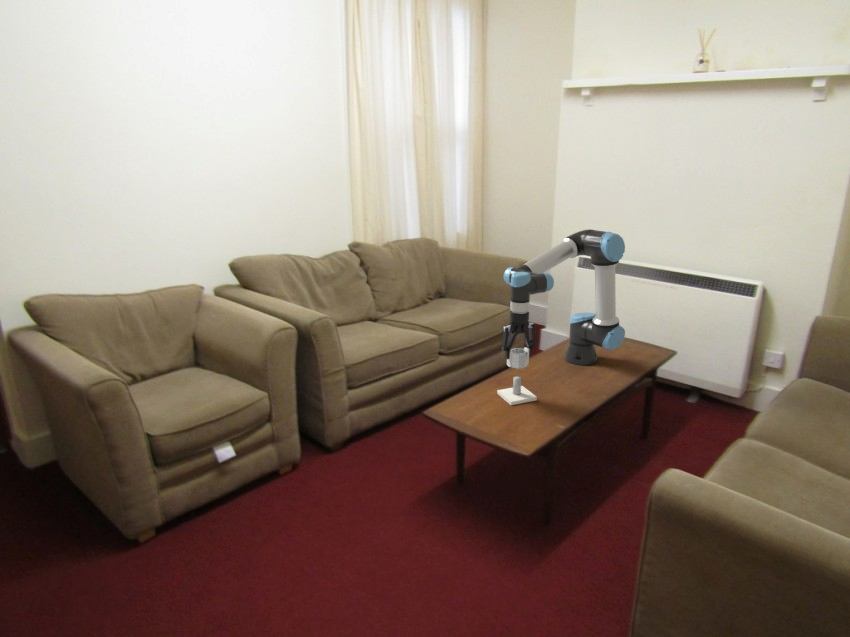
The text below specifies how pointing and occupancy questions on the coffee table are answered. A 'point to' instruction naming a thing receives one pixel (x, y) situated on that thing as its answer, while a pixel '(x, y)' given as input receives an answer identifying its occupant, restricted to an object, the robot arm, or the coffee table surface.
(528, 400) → the post
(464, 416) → the coffee table surface
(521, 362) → the tube
